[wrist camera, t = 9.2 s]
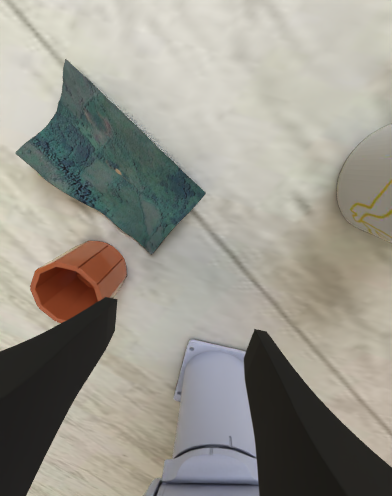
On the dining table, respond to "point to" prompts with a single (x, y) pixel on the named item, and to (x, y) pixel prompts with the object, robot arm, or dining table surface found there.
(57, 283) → the faceted terracotta tumbler
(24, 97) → the dining table surface
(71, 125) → the terrain model
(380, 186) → the white cylinder
